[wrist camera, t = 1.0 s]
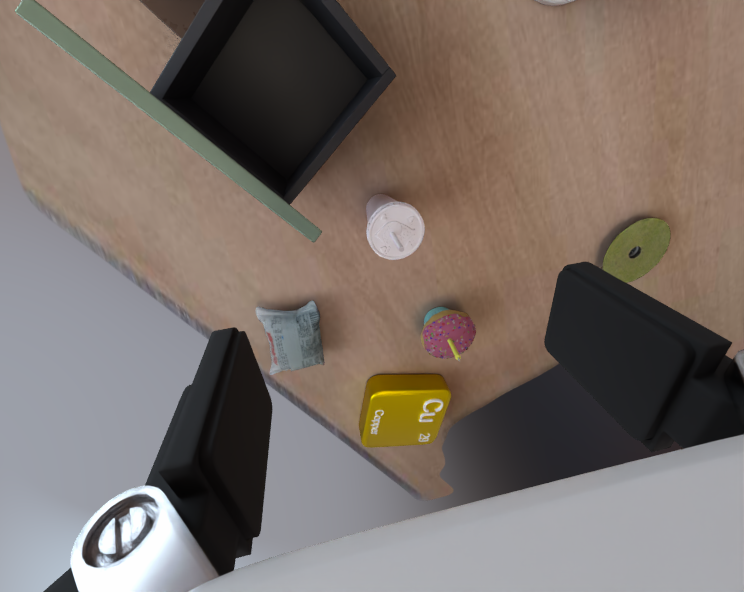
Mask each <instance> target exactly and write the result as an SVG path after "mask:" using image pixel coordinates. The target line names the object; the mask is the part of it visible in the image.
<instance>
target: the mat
mask: <svg viewBox="0 0 744 592" xmlns="http://www.w3.org/2000/svg"><path fill="white" fill-rule="evenodd" d="M670 234H671V233H670V228H669V226H668V225H667V223H666V222H665V221H663V220H660V219H658V218H646V219H643V220H640V221H638V222H636V223H635V224H632V225H631V226H629V227H628V228H626V229H625V230H624V231H623V232H621V233H620V234H619V235H618V236H617V237H616V238H615V240H614V241H613V242H612V243H611V245H610V246H609V248H608V250H607V252H606V254H605V257H604V259H603V270H604V271H606V272H607V273H609V274H611V275H613V276H615V277H616V278H618V279H620V280H622V281H623V282H625V283H627V282H631V281H634V280H636V279H638V278H640V277H642V276H643V275H645V274H646V273H648V272H649V271H650V270H651V269H652V268H653V267H654V266H656V265H657V263H659V261H660V259H661V258H662V257H663V255H664V254H665V252H666V250H667V247H668V245H669V241H670Z"/></svg>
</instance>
